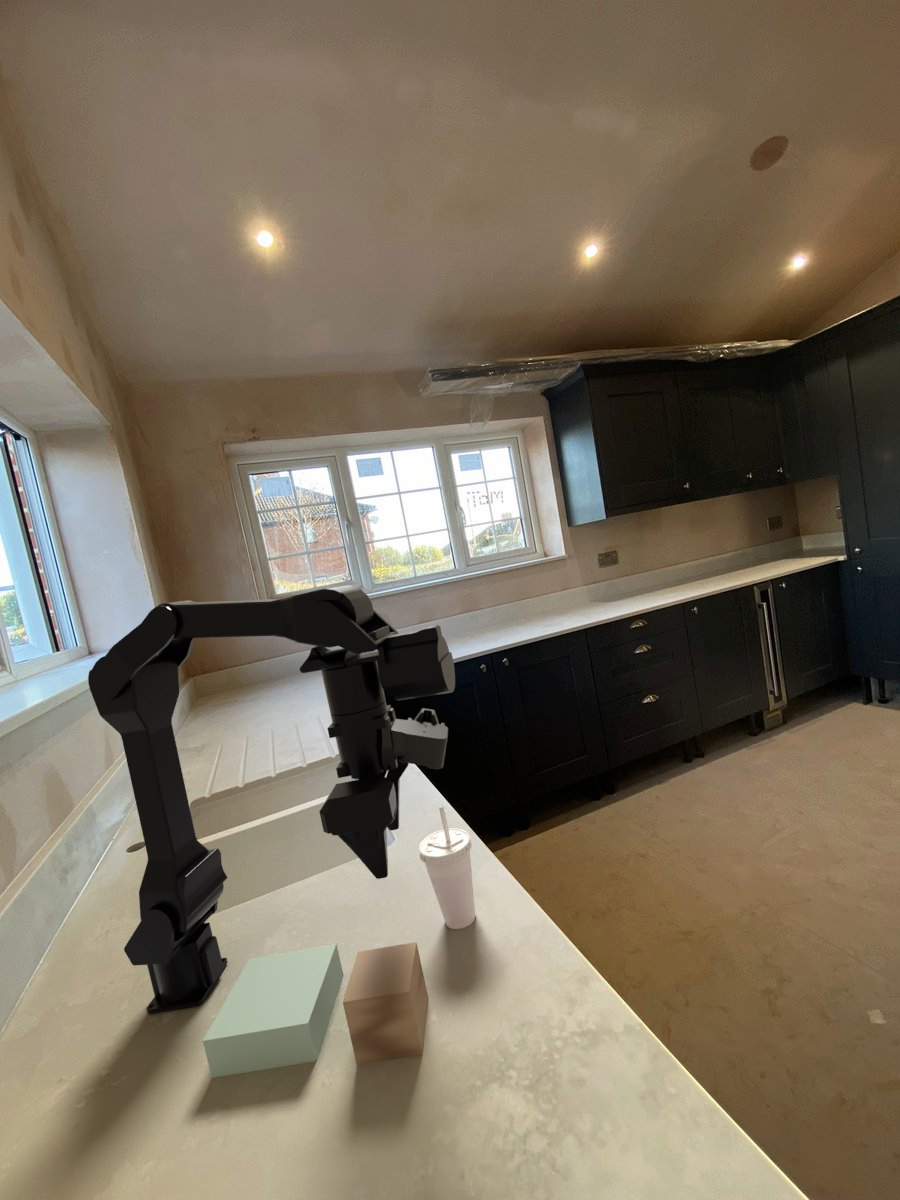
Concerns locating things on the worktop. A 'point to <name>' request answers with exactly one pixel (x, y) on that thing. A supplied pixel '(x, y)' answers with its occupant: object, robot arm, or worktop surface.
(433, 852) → the smoothie
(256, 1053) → the sage box
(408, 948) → the walnut cube
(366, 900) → the worktop surface
